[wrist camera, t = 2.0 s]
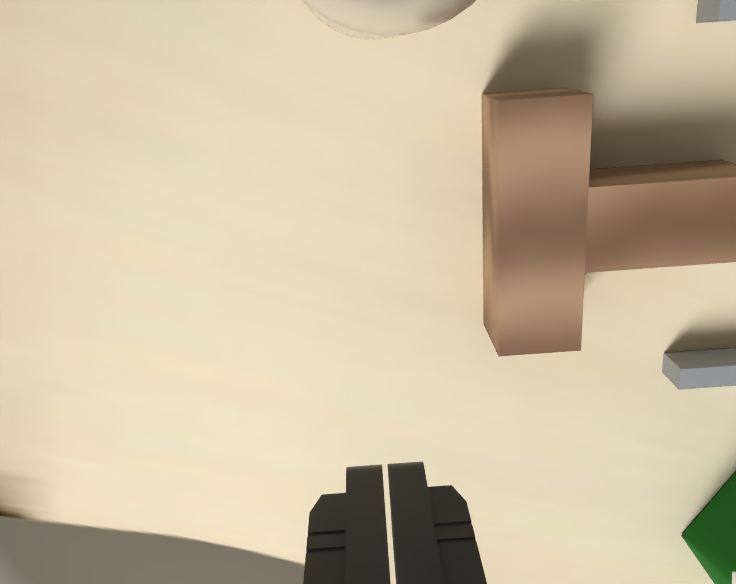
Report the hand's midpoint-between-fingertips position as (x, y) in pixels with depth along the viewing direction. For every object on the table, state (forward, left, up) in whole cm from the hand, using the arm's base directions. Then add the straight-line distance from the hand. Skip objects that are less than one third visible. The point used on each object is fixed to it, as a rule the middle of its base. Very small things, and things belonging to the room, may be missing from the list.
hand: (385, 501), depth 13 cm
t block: (0, +12, -22) cm, 25 cm away
